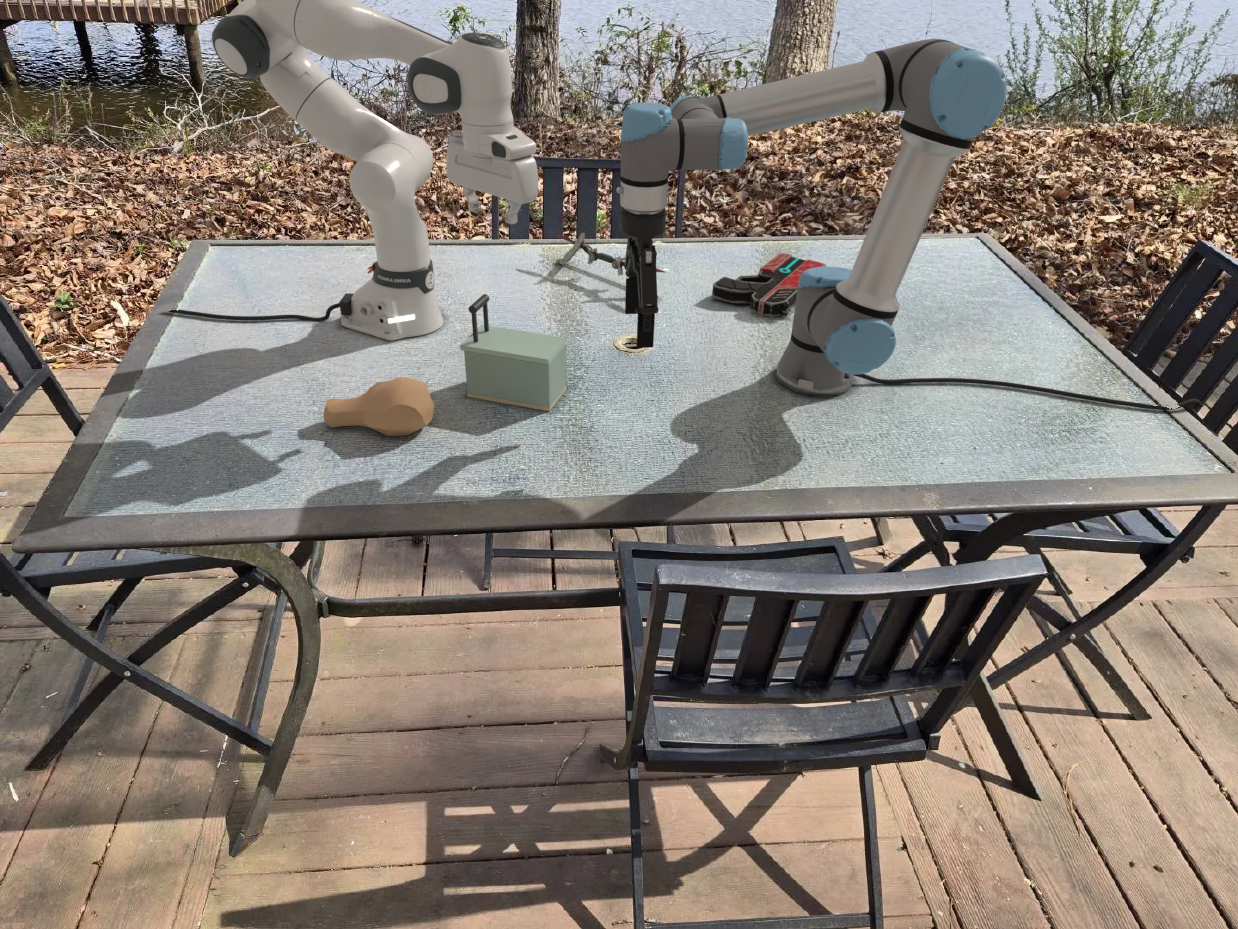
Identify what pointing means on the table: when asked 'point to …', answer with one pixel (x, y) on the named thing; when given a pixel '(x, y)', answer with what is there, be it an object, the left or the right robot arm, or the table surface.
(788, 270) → the gun
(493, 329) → the lid
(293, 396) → the table surface
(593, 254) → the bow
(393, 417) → the squash
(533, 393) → the chest
